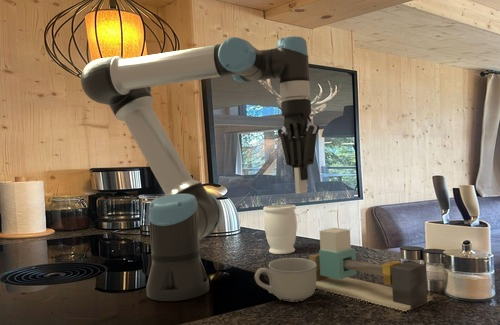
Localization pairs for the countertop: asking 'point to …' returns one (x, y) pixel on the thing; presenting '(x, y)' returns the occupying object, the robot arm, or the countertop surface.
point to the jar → (280, 228)
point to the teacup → (290, 278)
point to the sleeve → (335, 253)
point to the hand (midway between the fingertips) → (301, 192)
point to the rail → (394, 273)
